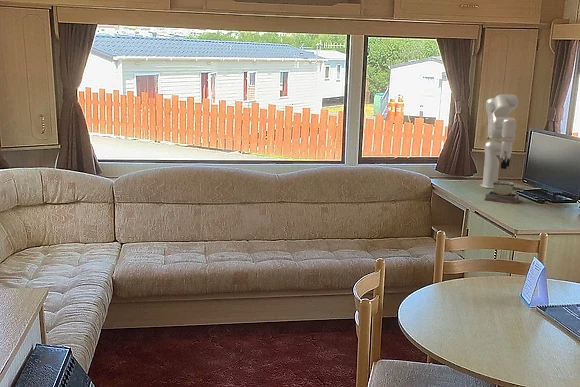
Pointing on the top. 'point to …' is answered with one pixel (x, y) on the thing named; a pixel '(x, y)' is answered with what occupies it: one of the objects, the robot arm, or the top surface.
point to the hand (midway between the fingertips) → (504, 167)
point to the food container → (503, 188)
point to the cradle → (502, 198)
